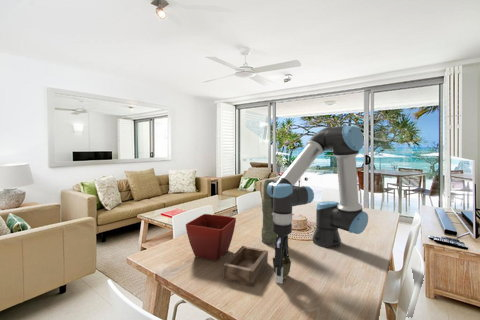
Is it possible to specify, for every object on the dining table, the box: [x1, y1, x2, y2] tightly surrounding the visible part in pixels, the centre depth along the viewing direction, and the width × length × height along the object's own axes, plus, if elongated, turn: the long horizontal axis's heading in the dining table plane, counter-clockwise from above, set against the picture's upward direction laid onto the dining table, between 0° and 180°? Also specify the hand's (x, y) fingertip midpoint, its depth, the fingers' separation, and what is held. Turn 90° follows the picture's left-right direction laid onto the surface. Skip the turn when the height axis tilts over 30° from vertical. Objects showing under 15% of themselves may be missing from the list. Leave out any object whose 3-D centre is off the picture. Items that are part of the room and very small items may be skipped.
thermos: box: [261, 179, 278, 245], centre depth 134 cm, size 9×12×35 cm
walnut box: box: [223, 245, 269, 287], centre depth 102 cm, size 13×20×6 cm, turn 157°
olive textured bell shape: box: [272, 256, 292, 281], centre depth 96 cm, size 8×7×8 cm
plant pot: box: [185, 213, 237, 262], centre depth 118 cm, size 19×19×17 cm
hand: (281, 277), depth 97 cm, fingers closed on olive textured bell shape, 7 cm apart
